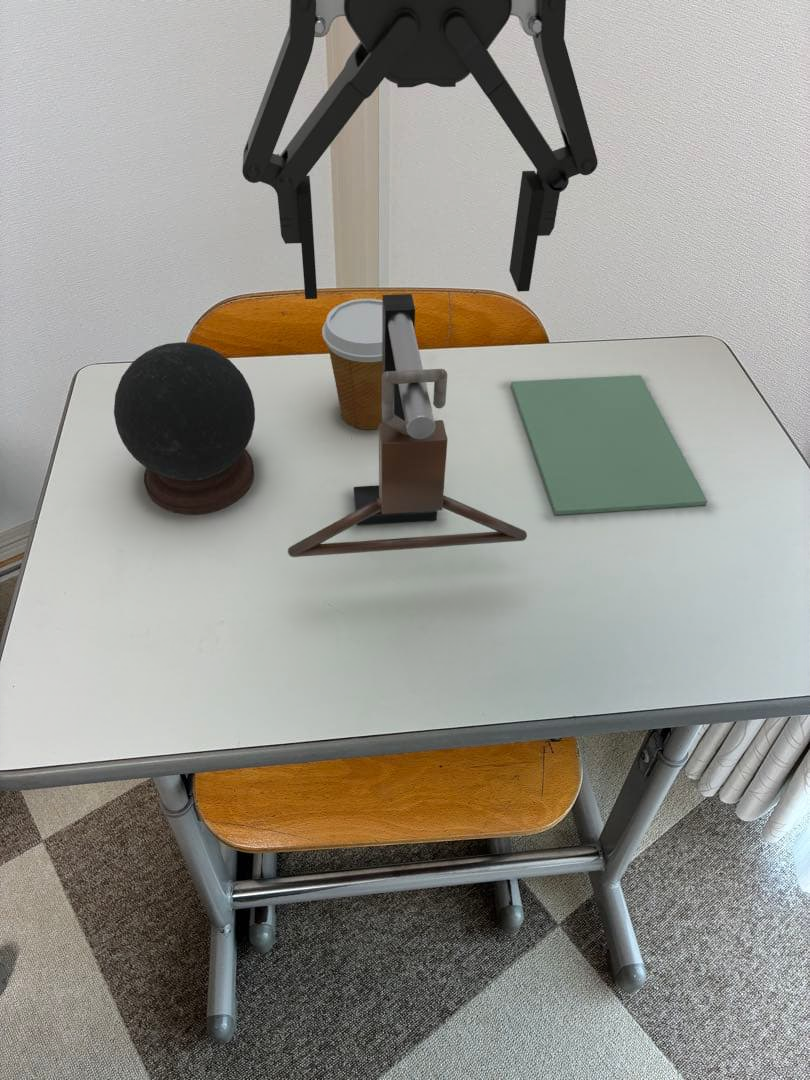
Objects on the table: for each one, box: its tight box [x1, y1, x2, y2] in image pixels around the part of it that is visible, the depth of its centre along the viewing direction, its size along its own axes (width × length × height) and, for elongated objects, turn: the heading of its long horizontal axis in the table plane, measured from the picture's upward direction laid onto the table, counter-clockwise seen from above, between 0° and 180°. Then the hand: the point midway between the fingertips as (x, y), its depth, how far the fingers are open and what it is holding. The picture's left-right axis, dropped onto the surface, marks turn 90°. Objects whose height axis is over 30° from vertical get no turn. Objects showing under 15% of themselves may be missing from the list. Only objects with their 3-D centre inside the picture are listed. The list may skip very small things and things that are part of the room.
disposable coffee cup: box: [321, 298, 382, 430], centre depth 87 cm, size 10×10×12 cm
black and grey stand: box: [353, 293, 438, 526], centre depth 68 cm, size 8×17×23 cm, turn 7°
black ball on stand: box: [113, 341, 256, 515], centre depth 78 cm, size 13×13×15 cm
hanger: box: [287, 368, 528, 558], centre depth 63 cm, size 21×2×18 cm, turn 97°
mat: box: [510, 374, 708, 516], centre depth 89 cm, size 22×16×1 cm
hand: (416, 284), depth 52 cm, fingers open, 13 cm apart
